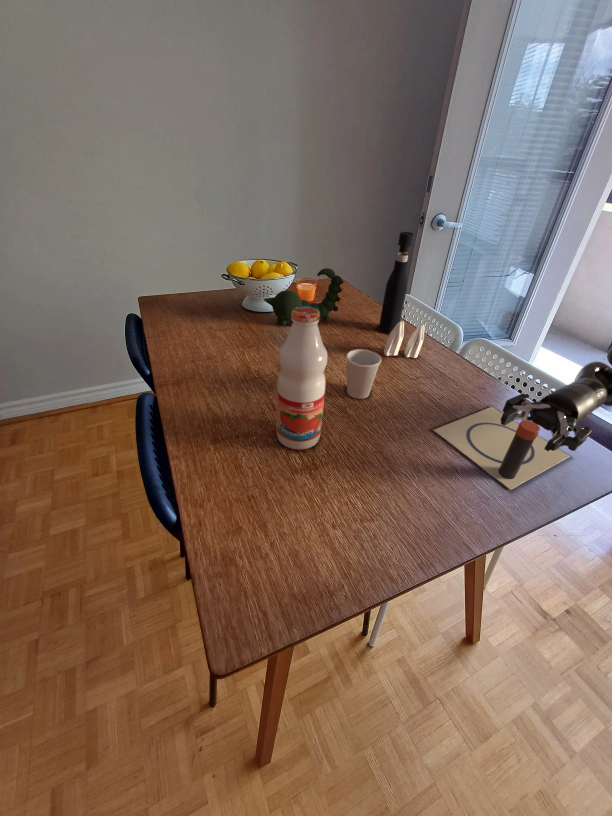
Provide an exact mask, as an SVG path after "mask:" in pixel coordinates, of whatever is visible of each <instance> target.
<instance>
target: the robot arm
mask: <svg viewBox="0 0 612 816" xmlns="http://www.w3.org/2000/svg"><path fill="white" fill-rule="evenodd" d="M606 359H607V360H606V361H607V362H608V363H609V364H610V366H609V365H608V364H607V363H604V362H602V361H591V362H589V363H587V364H585V365H584V366H583V367H581V368H580V369H579V371H578V373H577V374H576V376H575V378H574V380H573V382H571V383H569V384H567V385H563V386H561V387H559V388H558V389H556V390H554V391H553V392H551V393H549V394H547V395H545V396H544V397H543V398H542V399H540V400H539V401H531V400H529V399H528V394H525V393H519V394H518V395H516V396H513V397H511V398H509V399H507V400H506V401H505V404H504V405H503V407H502V414H503V415H502V417H501V420H500V421H501V424H502V425H504V426H505V425H506V424H508V423H510V422H512V421H515V420H521V421H524V420H526V421H531V422H534V423H536V424H537V425H538V426H539V427H540V428H543V429H544V430H546V431H549V432H550V433H551V438H550V439H549V440H548V441H547V442H548V443H547V444H546V446H545V448H544V449H545V450H546V451H550V450H552V451H555V450H557V449H559V448H561V447H564V446H566V447H567V449H569V450H570V451H572V452H575V451H576V450H577V449H579V448H580V447H581V446H582V445H583V444H584V443H585V442H586V441H587V439H588V437H589V436H590V434H591V433H592V431H593V428H592V427H591V426H584V427H582V426H580V425H578V424H580V423H581V422H583V421H585V420H586V419H588V417H590V416H591V414H593V412H594V411H596V410H597V409H599V408H601V407H602V406H605V407H612V347H611V348H610V349H609V350H608V352H607V354H606ZM519 412H520V413H519ZM571 432H573V435H574V436H571V434H570V433H571Z"/></svg>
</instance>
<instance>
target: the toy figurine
mask: <svg viewBox="0 0 612 816" xmlns="http://www.w3.org/2000/svg"><path fill="white" fill-rule="evenodd" d="M320 276H326V277H327V278H328V279H330V283H329V284H328V288H327V291H326V292H325V295H324V296H325V297H324V298H323V299H322V300H321V302H318V303H316V302H309V301H308V300H305V299H302V298H301V297H300V296H299V294H298V293H296V292H295V291H292V290H289V289H287V290H286V289H285V290H281V291H279V292H278V293H276V295H275V296H273V297H266V298H263V301H264V302H265V303H267V304H269V305H270V306H271V307H272V312H273V313H274V315H275V317H276V321H277V323H278V325H279V326H282V327H283V326H286V325H287V323H288V322H289V321H291V322H292V319H291V318H292V317H291V313H292V310H293V309H294V308H296V307H301V306H307V307H313V308H315V309H317V310H318V311H319V313H320V319H323V321H324V322H326V323H327V322H329V321H330V316H329V314H330V312H332V311H333V312H338V311H339V307H338V305H336V302H338V303H339V302H341V297H340V296H339V293H342V292H343V289H342V288H341V285H343V284H344V280H343V279H342V277H341V276H340V275H337V274H336V272H335V270H333V269H331V268H330V267H329V268H327V267H325V268H322V269H321V270H319V271H318V272H317V277H320ZM320 319H319V320H320ZM317 325H319V322H318V323H317Z"/></svg>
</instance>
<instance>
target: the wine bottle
mask: <svg viewBox="0 0 612 816" xmlns="http://www.w3.org/2000/svg"><path fill="white" fill-rule="evenodd" d="M413 240H414V233H413V232H409V231H401V232H399V237H398V243H397V245H398V246H399V250H398V253H397V255H396V257H395V258H396V259H395V261H394V265H393V270H392V271H391V273H390V275H389V277H388V279H387V282H386V285H385V291H384V296H383V302H382V308H381V313H380V319H379V324H378V330H379V331H380V332H381V333H383V334H389V335H390V333H391V332H392V330H393V329H394V327H395V326H396V325H397V324H398V322H401V319H402V315H403V310H404V305H405V300H406V296H407V290H408V275H407V270H408V263H409V262H408V260H409V259H408V258H409V254H408V253H409V248H410V247H412V245H413Z"/></svg>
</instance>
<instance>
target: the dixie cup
mask: <svg viewBox="0 0 612 816" xmlns="http://www.w3.org/2000/svg"><path fill="white" fill-rule="evenodd" d="M345 359H346V393H347V395H348V396H349V397H351V398H354V399H357V400H358V399H360V400H361V399H366V398H368V397H369V396H370V394H371V391H372V388H373V385H374V382H375V379H376V376H377V373H378V370H379V367H380V364H381V363H382V357H381V355H379V354H378V353H376V352H375V351H372V350H369V349H362V348H360V349H359V348H358V349H357V348H356V349H352V350H350V351H348V352H347V353H346V355H345Z"/></svg>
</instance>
